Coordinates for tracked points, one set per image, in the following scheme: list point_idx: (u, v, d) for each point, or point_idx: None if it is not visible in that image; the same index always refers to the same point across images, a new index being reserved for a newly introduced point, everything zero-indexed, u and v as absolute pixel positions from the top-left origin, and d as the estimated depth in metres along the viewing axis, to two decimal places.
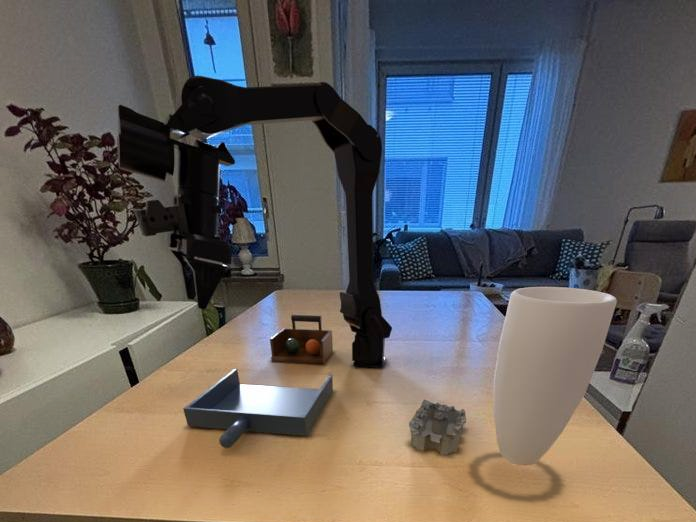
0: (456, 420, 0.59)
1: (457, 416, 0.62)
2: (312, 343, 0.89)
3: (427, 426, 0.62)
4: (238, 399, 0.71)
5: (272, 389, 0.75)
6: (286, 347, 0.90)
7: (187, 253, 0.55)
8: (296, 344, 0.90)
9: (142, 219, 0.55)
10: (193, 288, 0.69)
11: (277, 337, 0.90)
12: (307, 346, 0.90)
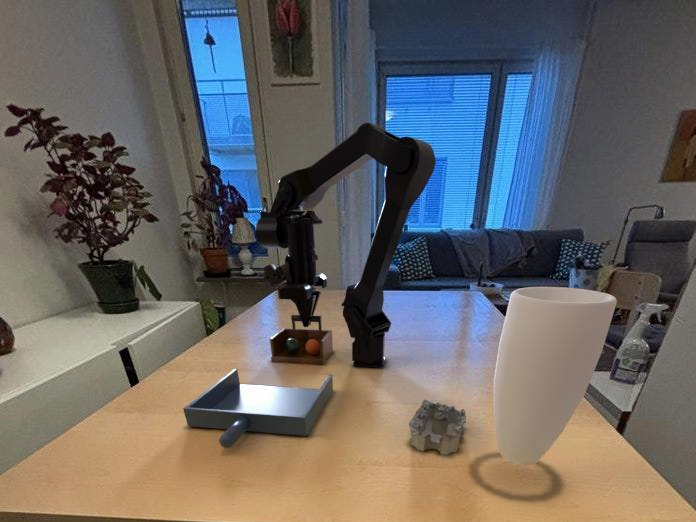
0: (456, 420, 0.59)
1: (457, 416, 0.62)
2: (312, 343, 0.89)
3: (427, 426, 0.62)
4: (238, 399, 0.71)
5: (272, 389, 0.75)
6: (286, 347, 0.90)
7: (278, 296, 0.82)
8: (296, 344, 0.90)
9: (264, 278, 0.85)
10: None
11: (277, 337, 0.90)
12: (307, 346, 0.90)
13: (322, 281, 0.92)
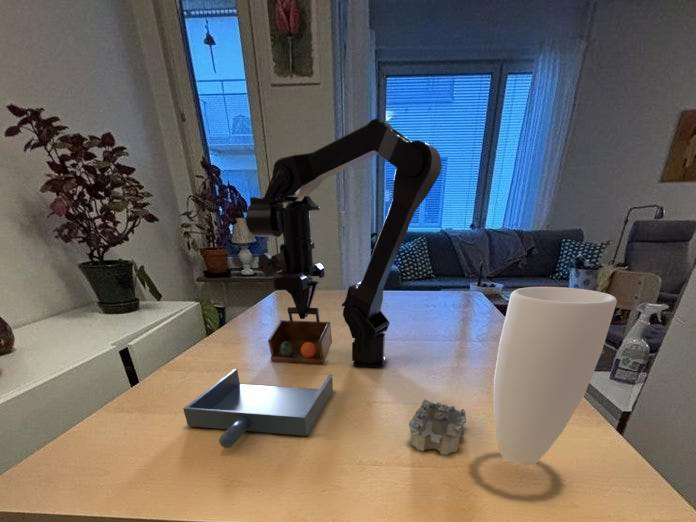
0: (456, 420, 0.59)
1: (457, 416, 0.62)
2: None
3: (427, 426, 0.62)
4: (238, 399, 0.71)
5: (272, 389, 0.75)
6: None
7: (273, 288, 0.79)
8: (292, 354, 0.88)
9: (258, 268, 0.82)
10: None
11: (275, 335, 0.88)
12: None
13: (319, 271, 0.89)
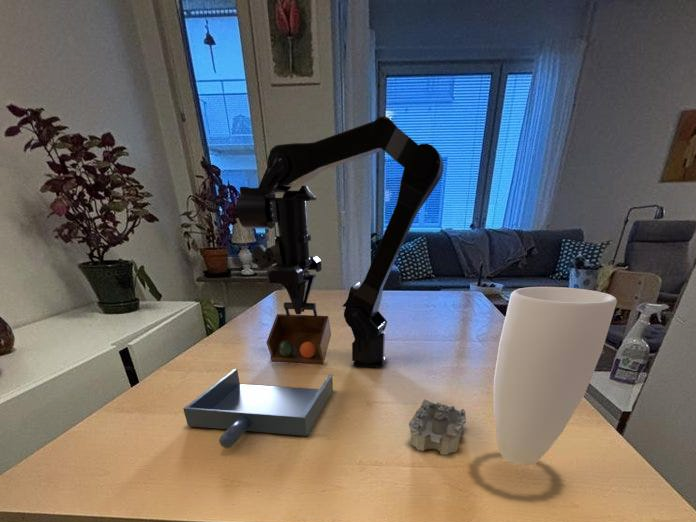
0: (456, 420, 0.59)
1: (457, 416, 0.62)
2: None
3: (427, 426, 0.62)
4: (238, 399, 0.71)
5: (272, 389, 0.75)
6: None
7: (268, 281, 0.76)
8: (292, 353, 0.88)
9: (252, 261, 0.79)
10: None
11: (273, 334, 0.87)
12: None
13: (316, 264, 0.86)
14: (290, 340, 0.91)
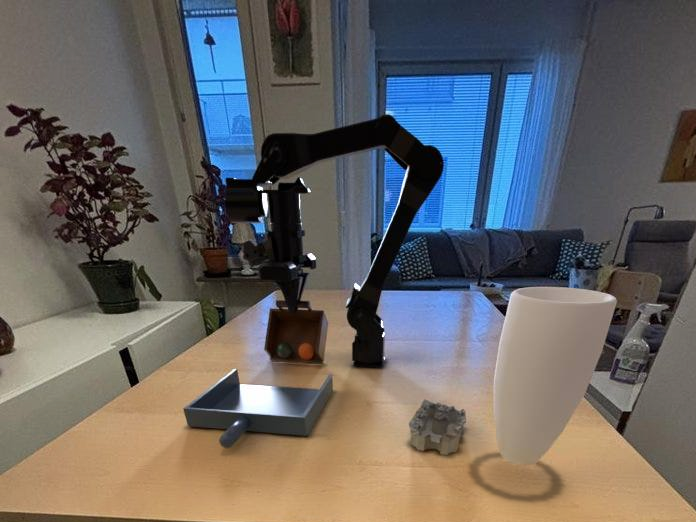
0: (456, 420, 0.59)
1: (457, 416, 0.62)
2: None
3: (427, 426, 0.62)
4: (238, 399, 0.71)
5: (272, 389, 0.75)
6: None
7: (259, 278, 0.72)
8: None
9: (243, 256, 0.75)
10: None
11: (269, 336, 0.85)
12: None
13: (310, 261, 0.82)
14: (287, 333, 0.89)
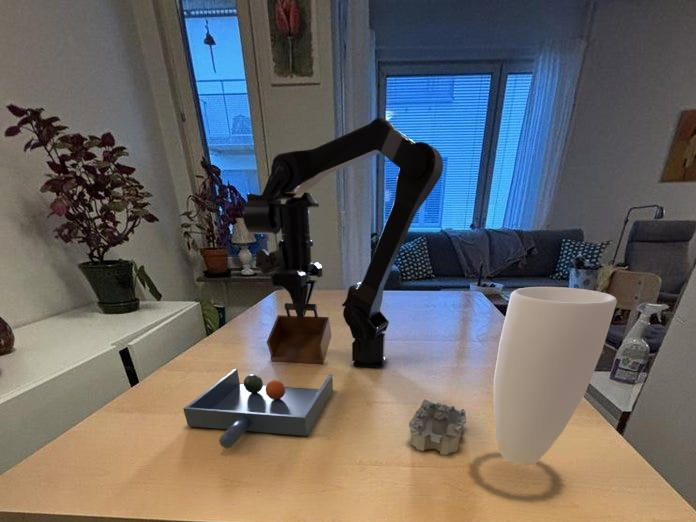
0: (456, 420, 0.59)
1: (457, 416, 0.62)
2: None
3: (427, 426, 0.62)
4: (238, 399, 0.71)
5: None
6: None
7: (271, 284, 0.77)
8: (258, 388, 0.72)
9: (256, 265, 0.81)
10: None
11: (273, 334, 0.87)
12: None
13: (317, 270, 0.88)
14: (290, 341, 0.92)
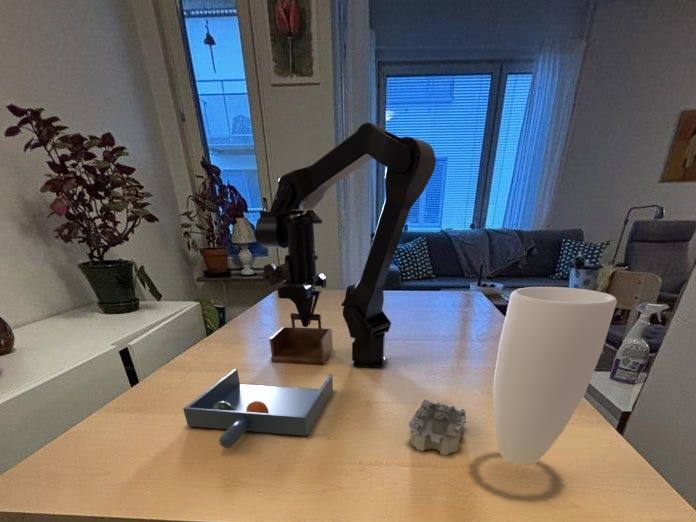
0: (456, 420, 0.59)
1: (457, 416, 0.62)
2: None
3: (427, 426, 0.62)
4: (238, 399, 0.71)
5: (272, 389, 0.75)
6: None
7: (278, 297, 0.82)
8: None
9: (263, 277, 0.85)
10: None
11: (277, 336, 0.89)
12: None
13: (322, 281, 0.92)
14: (292, 350, 0.93)
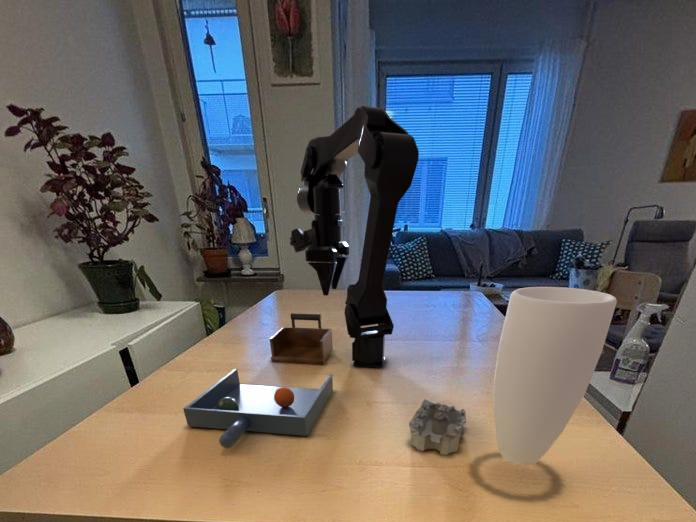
0: (456, 420, 0.59)
1: (457, 416, 0.62)
2: None
3: (427, 426, 0.62)
4: (238, 399, 0.71)
5: (272, 389, 0.75)
6: None
7: (306, 260, 0.85)
8: None
9: (290, 243, 0.88)
10: (335, 281, 0.98)
11: (277, 336, 0.89)
12: None
13: (345, 248, 0.95)
14: (292, 350, 0.93)
